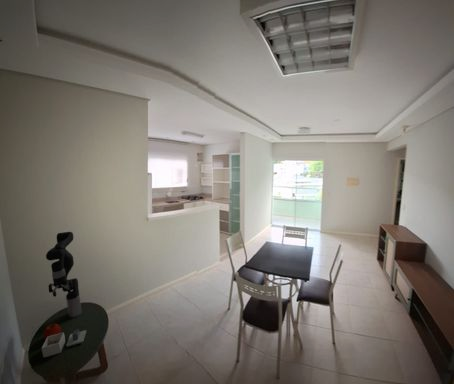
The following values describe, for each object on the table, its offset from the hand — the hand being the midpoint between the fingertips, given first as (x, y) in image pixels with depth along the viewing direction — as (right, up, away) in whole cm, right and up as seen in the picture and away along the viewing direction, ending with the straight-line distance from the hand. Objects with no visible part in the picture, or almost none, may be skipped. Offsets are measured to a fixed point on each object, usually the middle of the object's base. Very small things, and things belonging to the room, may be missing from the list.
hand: (62, 294), depth 158 cm
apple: (-11, -36, +5) cm, 38 cm away
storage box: (-2, -38, -5) cm, 38 cm away
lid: (+9, -36, +3) cm, 37 cm away
